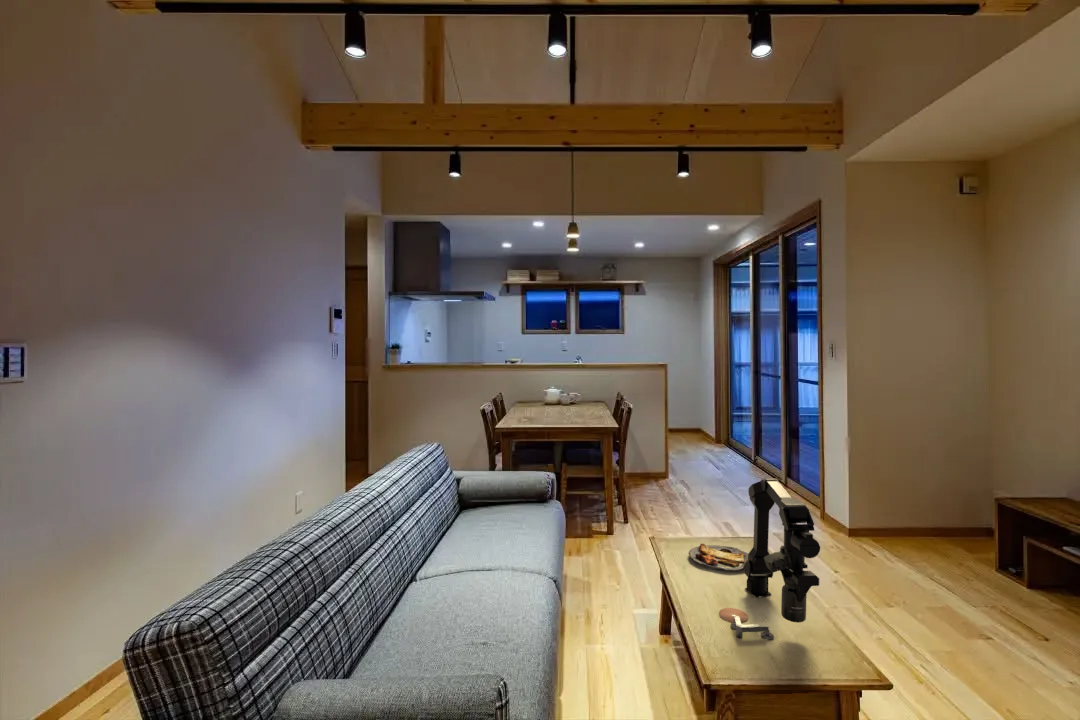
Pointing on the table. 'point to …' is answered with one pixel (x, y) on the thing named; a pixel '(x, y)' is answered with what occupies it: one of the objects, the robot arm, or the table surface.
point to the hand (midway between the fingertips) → (793, 596)
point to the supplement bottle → (792, 603)
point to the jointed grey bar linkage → (751, 629)
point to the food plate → (719, 556)
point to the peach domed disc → (733, 614)
